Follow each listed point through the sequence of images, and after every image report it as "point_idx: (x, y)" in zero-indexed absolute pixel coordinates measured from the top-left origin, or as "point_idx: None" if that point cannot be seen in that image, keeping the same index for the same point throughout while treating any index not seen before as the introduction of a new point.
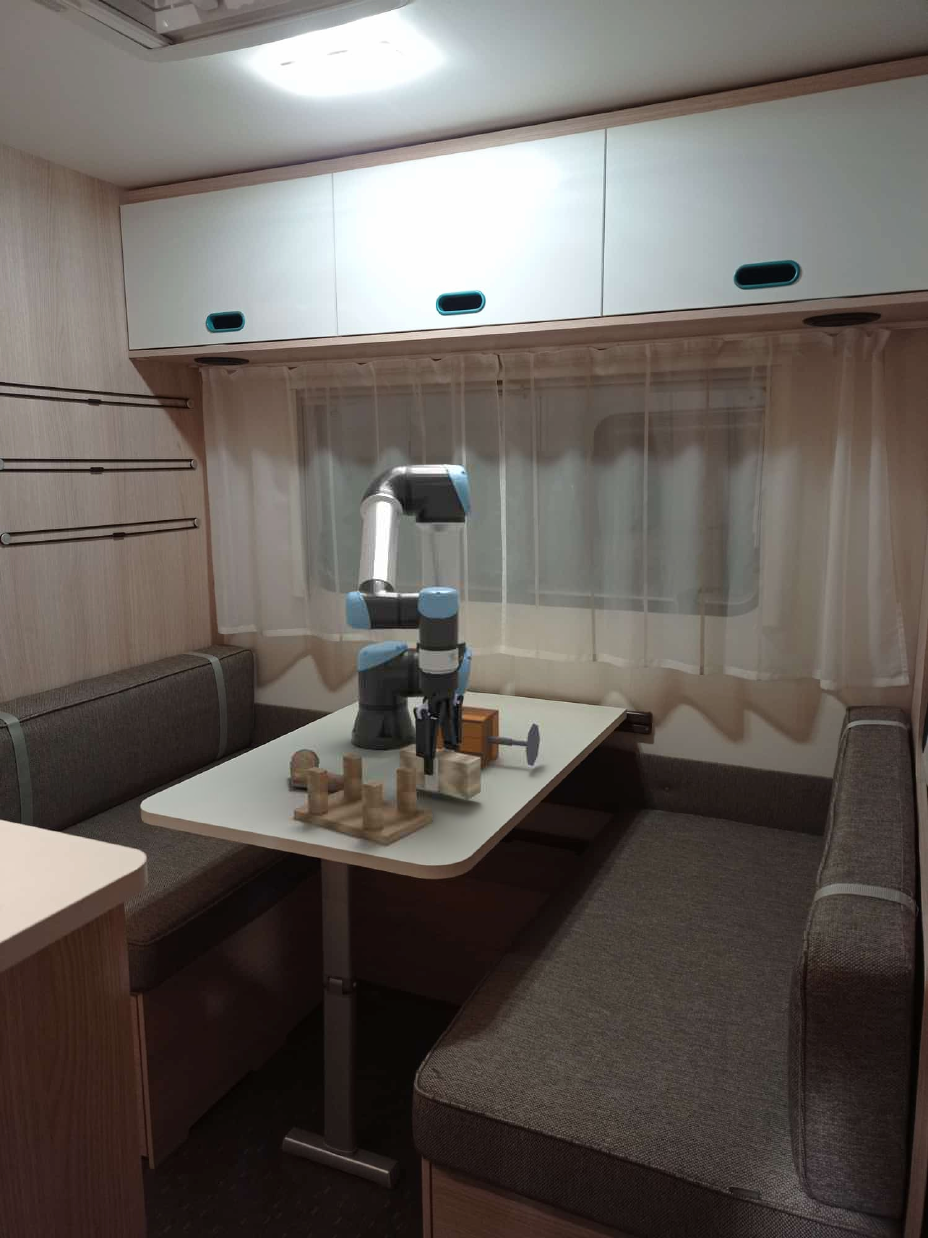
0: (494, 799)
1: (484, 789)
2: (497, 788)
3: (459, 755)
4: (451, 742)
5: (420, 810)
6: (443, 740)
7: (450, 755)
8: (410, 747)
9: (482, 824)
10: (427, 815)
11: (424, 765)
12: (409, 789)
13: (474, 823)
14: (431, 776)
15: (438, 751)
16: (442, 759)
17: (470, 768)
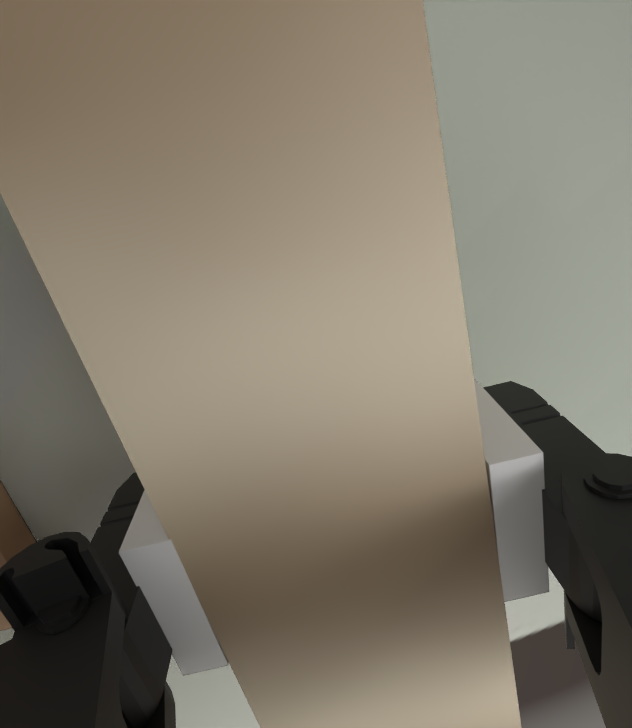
0: None
1: (569, 421)
2: (620, 450)
3: (454, 719)
4: (596, 691)
5: (4, 563)
6: (602, 579)
7: (391, 676)
8: (189, 11)
9: (229, 698)
10: (3, 628)
11: (95, 548)
12: None
13: (210, 679)
14: None
15: (398, 513)
16: (248, 696)
17: None
